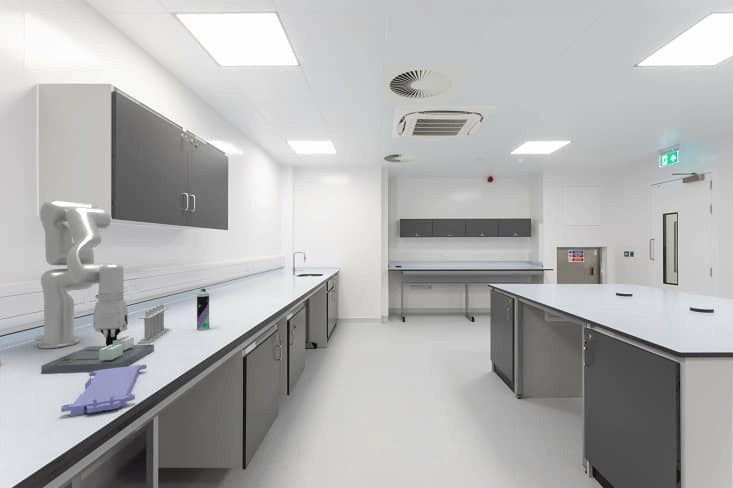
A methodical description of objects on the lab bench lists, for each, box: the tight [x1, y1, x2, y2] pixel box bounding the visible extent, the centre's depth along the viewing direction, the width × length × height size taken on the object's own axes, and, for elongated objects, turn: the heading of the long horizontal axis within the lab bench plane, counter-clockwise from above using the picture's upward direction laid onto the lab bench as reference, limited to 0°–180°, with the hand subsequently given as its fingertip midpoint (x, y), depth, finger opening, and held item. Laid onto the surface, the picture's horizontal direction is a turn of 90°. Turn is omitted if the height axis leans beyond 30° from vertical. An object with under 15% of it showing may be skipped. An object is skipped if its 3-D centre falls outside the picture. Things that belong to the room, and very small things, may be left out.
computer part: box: [60, 364, 148, 418], centre depth 99 cm, size 30×4×15 cm
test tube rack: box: [138, 303, 170, 345], centre depth 160 cm, size 25×4×13 cm, turn 13°
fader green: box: [99, 344, 123, 360], centre depth 121 cm, size 4×6×4 cm, turn 5°
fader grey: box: [113, 335, 135, 350], centre depth 132 cm, size 4×6×4 cm, turn 5°
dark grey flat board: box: [40, 343, 155, 375], centre depth 126 cm, size 24×22×3 cm
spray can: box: [196, 288, 210, 331], centre depth 174 cm, size 6×6×20 cm
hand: (111, 346), depth 131 cm, fingers closed
